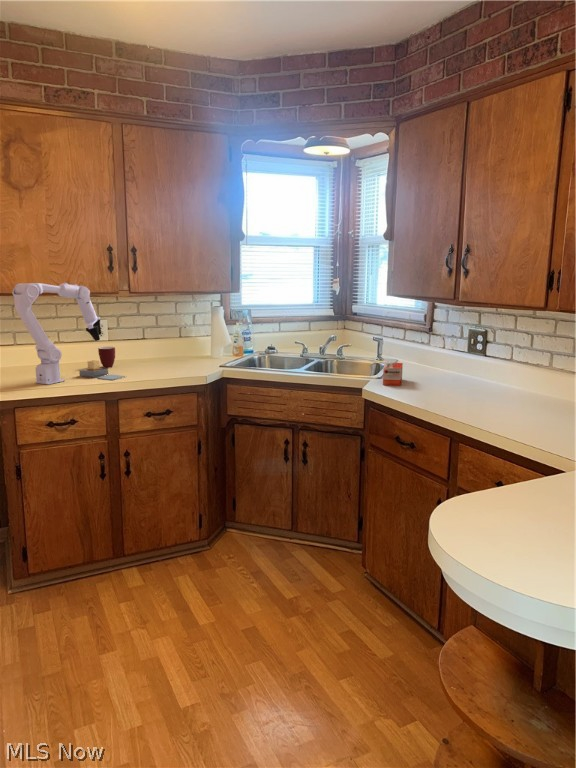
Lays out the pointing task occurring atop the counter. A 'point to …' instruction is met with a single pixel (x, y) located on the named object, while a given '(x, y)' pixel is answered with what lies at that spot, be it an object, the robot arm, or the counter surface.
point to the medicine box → (392, 374)
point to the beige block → (93, 365)
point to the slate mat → (110, 377)
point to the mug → (107, 356)
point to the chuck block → (93, 373)
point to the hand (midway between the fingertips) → (98, 337)
